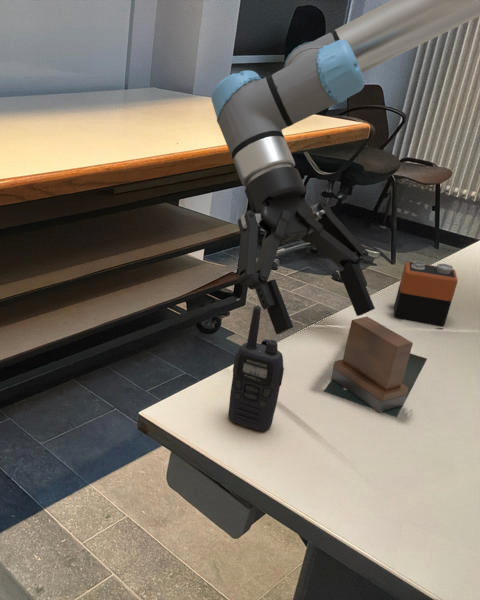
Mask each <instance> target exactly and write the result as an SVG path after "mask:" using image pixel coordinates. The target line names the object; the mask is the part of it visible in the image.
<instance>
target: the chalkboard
mask: <svg viewBox="0 0 480 600" xmlns="http://www.w3.org/2000/svg"><path fill="white" fill-rule="evenodd" d="M427 361H428V358H426V357H423V356H420V355H417V354H413V353H410V355H409V359H408V362H407V366H406V370H405V373H404V377H403V380H402V384H404V385H405V386H407V387H408V392H407V395H406V399H405V402H406V401H407V399H408V397H409V396H410V393H411V391H412V390H413V388H414V385H415V383H416V382H417V379H418V377H419V375H420V373H421V372H422V370H423V368H424V366H425V364H426V362H427ZM323 393H325V394H329V395H332V396H334V397H338V398H340V399H343V400H346V401H348V402H352V403H354V404H357V405H360V406H363V407H366V408H369V409H372V410H374V411H376V410H375V409H374V408H372V407H371V406H370V405H368V404H367V403H365V402H364V401H363V400H361V399H360V398H358V397H357V396H356V395H354V394H353V393H351V392H350V391H349V390H347V389H346V388H344V387H343V386H342V385H340V384H339V383H337V382H336V381H335V380H333V379H332V378H331V380H330V382H329V383H328V384H327V386H326V387H325V388H324V390H323ZM405 402H404V404H405ZM403 407H404V405H402V406H398V407H395V408H392V409H389V410H385V411H382V412H381V413H382V414H385V415H389V416H392V417H394V418H398V416H399V414H400V412H401V410H402V409H403Z"/></svg>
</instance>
